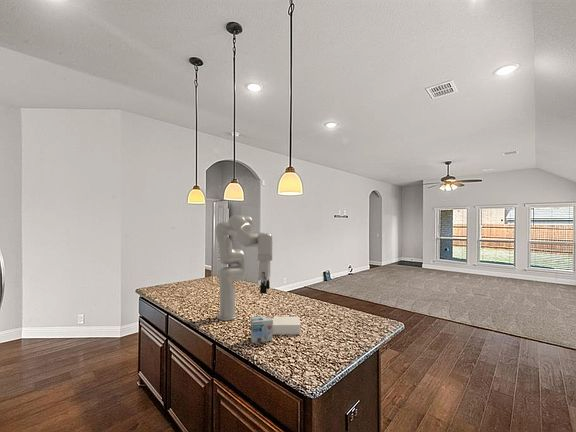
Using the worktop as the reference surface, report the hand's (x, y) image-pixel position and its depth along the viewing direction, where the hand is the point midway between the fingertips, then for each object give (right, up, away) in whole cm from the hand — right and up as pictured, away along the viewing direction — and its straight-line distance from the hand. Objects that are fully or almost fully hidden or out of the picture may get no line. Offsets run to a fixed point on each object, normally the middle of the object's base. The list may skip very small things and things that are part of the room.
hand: (265, 290), depth 143 cm
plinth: (+11, -25, +14) cm, 31 cm away
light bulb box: (-2, -25, 0) cm, 25 cm away
